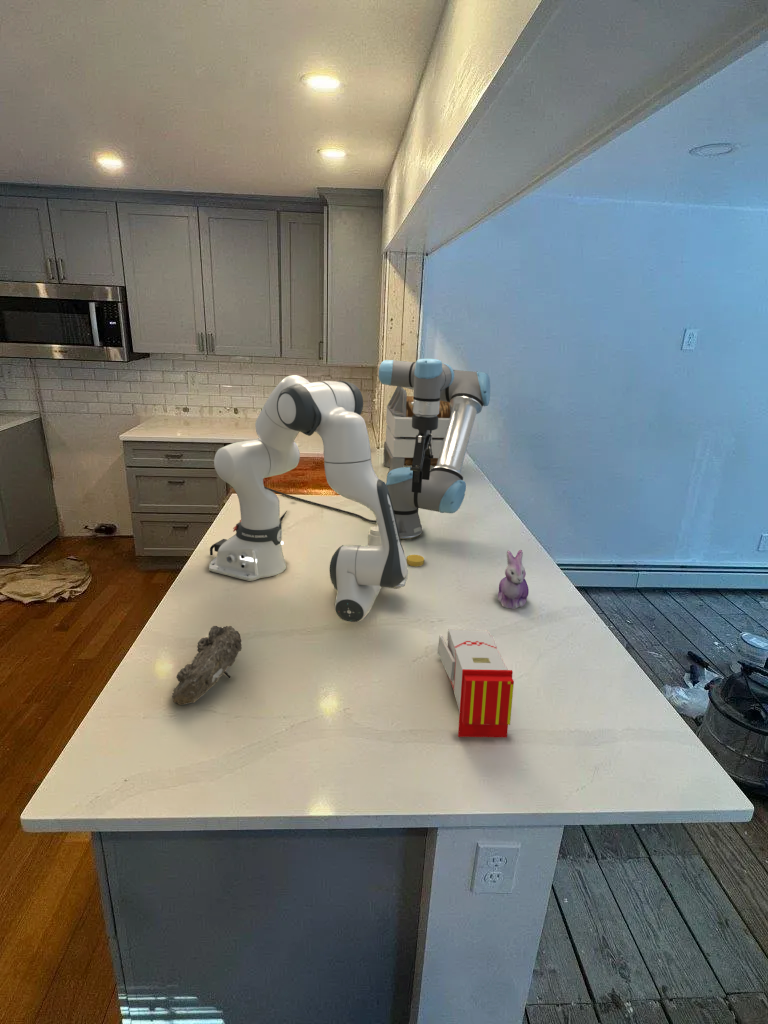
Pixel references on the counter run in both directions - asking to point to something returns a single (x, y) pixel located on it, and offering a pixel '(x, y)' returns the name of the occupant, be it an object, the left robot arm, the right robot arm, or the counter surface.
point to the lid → (415, 560)
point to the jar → (374, 537)
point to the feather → (282, 516)
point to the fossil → (207, 664)
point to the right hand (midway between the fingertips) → (420, 485)
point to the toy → (478, 682)
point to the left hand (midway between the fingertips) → (376, 561)
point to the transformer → (409, 431)
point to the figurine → (513, 583)
